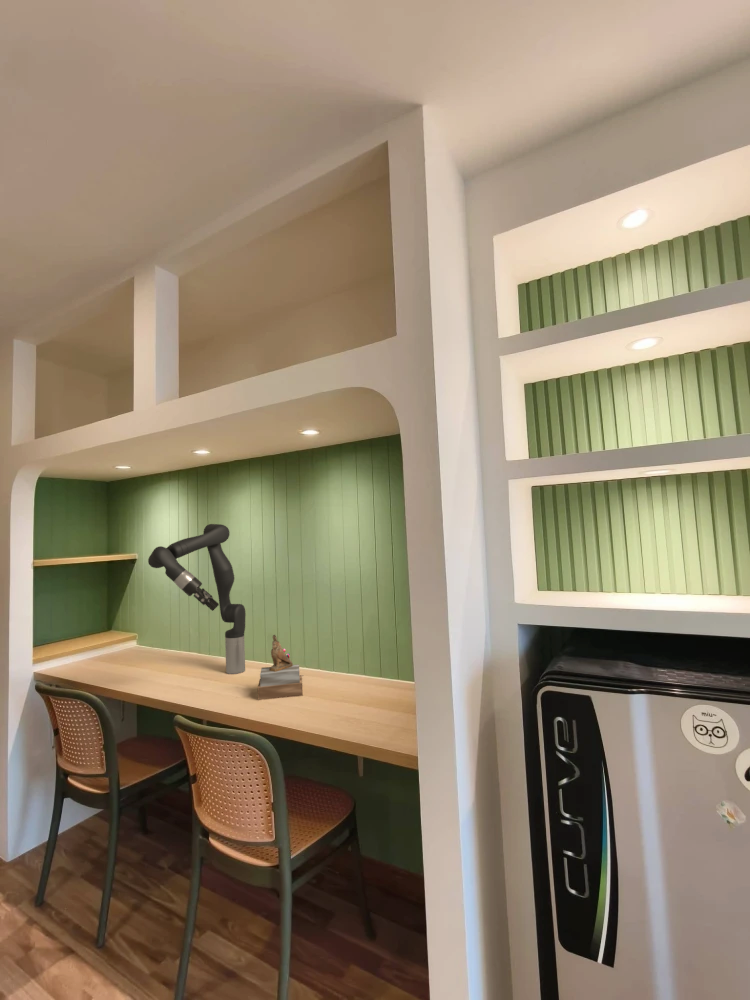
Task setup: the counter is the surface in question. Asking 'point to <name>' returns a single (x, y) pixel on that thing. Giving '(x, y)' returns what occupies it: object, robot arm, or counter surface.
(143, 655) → the counter surface
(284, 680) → the grey and brown block
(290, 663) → the brown carved statuette
